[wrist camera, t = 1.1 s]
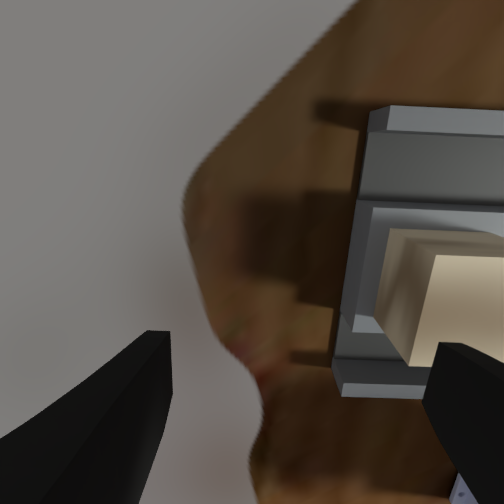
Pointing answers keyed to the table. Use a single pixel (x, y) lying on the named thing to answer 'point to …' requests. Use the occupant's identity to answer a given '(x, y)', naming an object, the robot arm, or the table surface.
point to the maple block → (442, 292)
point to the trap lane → (411, 224)
